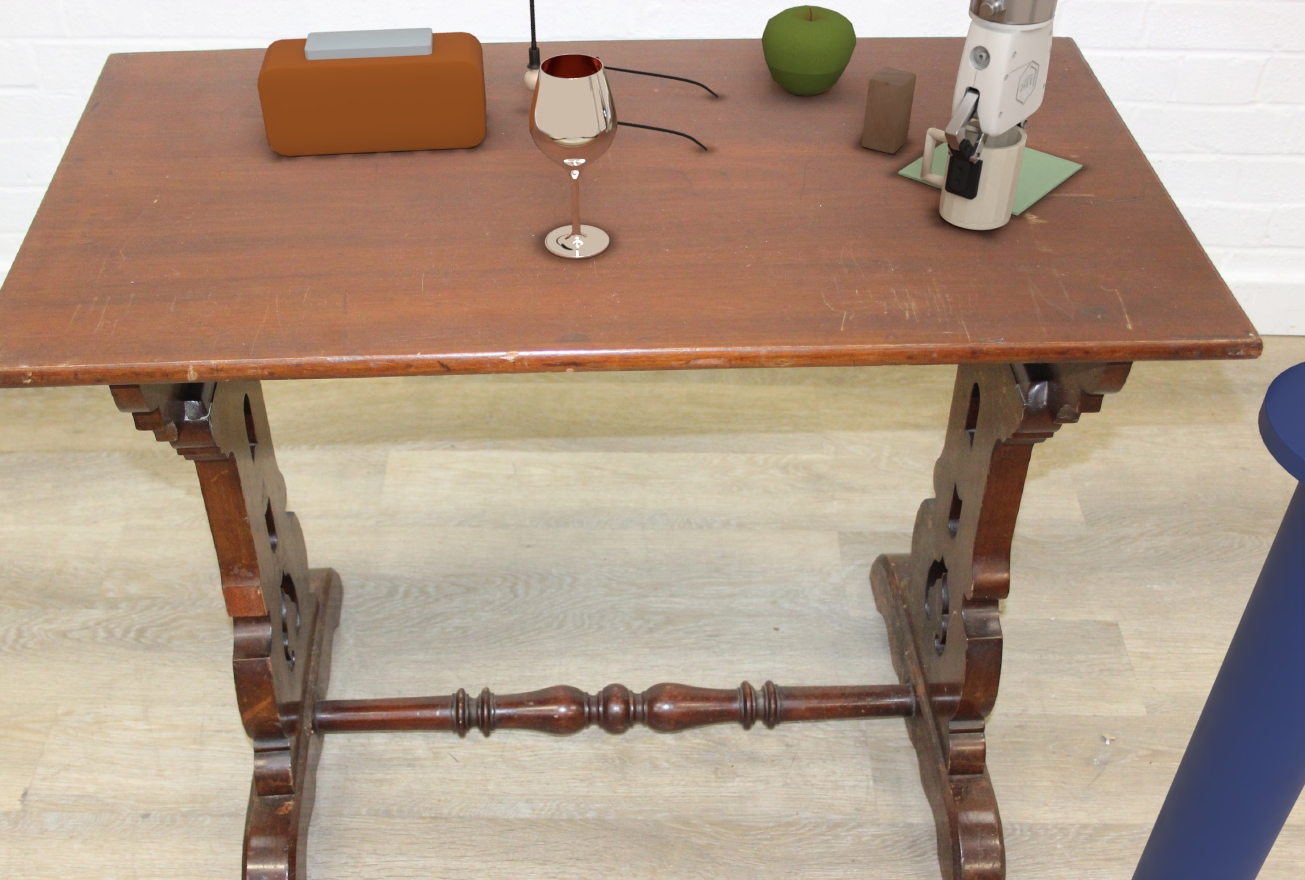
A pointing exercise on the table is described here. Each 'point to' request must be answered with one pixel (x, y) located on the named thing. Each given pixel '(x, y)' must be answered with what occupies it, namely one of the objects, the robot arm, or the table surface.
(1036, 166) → the mat
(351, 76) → the alarm clock
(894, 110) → the wooden block
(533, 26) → the light fixture
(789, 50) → the apple
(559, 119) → the wineglass
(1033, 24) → the robot arm
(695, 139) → the glasses
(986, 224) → the mug
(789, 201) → the table surface
